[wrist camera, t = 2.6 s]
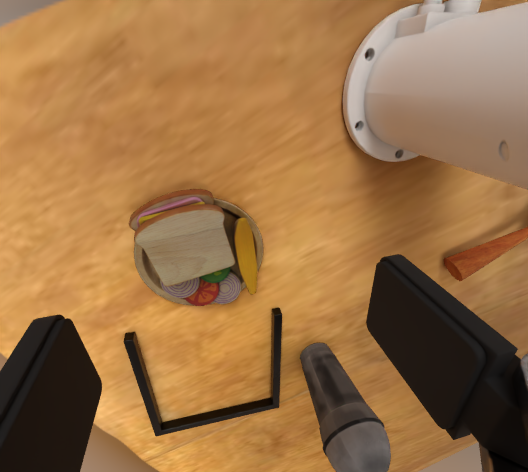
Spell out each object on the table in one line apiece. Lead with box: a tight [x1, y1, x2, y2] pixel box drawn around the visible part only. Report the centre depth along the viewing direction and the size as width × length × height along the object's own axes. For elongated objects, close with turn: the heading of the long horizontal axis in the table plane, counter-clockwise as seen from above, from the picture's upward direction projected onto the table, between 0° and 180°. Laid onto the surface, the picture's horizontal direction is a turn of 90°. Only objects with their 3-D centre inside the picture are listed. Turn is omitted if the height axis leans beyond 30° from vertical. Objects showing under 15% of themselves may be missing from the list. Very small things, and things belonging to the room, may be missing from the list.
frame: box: [124, 308, 282, 436], centre depth 38 cm, size 19×18×1 cm
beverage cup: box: [300, 343, 391, 472], centre depth 33 cm, size 7×7×20 cm
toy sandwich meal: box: [129, 189, 263, 306], centre depth 28 cm, size 12×14×5 cm
